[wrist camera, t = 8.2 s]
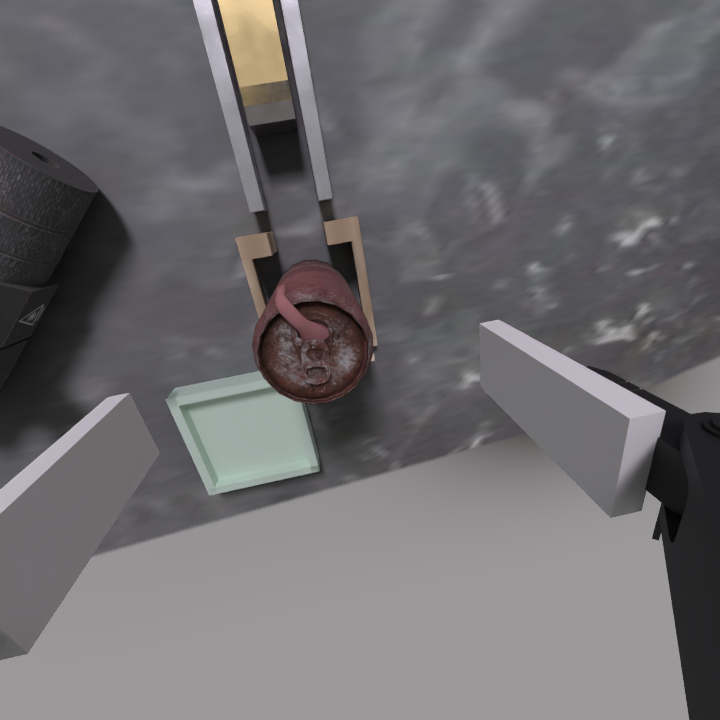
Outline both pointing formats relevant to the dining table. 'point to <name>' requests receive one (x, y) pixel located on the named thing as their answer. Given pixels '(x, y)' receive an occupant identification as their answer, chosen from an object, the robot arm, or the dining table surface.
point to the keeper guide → (233, 109)
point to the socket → (334, 234)
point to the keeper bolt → (259, 65)
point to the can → (313, 335)
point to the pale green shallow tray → (243, 432)
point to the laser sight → (33, 234)
